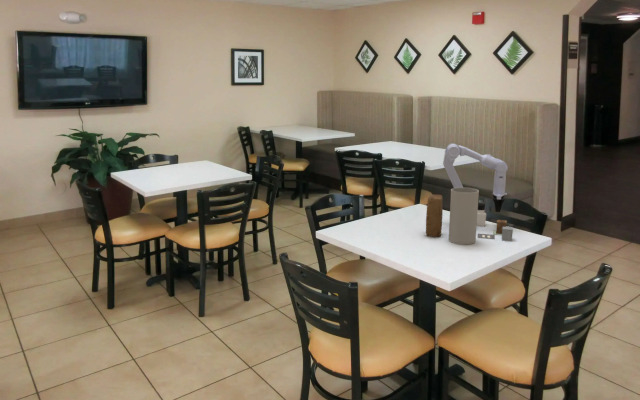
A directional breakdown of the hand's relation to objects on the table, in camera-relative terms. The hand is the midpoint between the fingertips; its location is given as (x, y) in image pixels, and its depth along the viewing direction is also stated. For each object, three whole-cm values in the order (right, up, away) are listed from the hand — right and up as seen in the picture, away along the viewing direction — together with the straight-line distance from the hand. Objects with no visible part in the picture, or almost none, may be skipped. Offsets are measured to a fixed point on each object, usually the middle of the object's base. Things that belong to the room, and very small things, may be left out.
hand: (497, 210), depth 277 cm
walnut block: (-1, -11, -9) cm, 14 cm away
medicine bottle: (-9, -8, +8) cm, 14 cm away
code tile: (-10, -13, -14) cm, 22 cm away
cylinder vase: (-24, -15, -21) cm, 35 cm away
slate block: (-2, -14, -19) cm, 24 cm away
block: (-35, -12, -10) cm, 38 cm away
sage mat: (-1, -12, -9) cm, 15 cm away
